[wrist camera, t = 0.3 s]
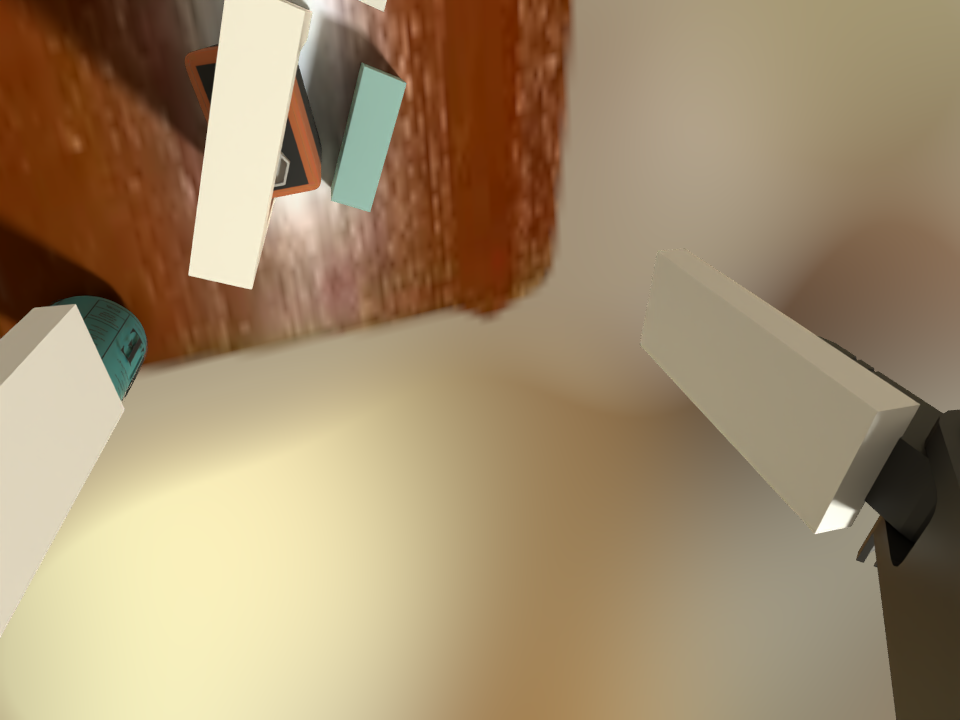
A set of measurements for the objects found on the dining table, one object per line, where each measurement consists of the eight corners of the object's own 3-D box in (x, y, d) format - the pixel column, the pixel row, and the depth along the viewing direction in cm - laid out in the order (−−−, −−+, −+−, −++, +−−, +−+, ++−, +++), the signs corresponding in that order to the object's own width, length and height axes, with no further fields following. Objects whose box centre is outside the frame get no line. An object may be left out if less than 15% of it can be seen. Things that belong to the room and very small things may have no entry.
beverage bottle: (26, 294, 35) (-231, 537, 19) (130, 271, 36) (-31, 486, 20) (82, 372, 39) (-92, 631, 23) (175, 350, 40) (71, 585, 23)
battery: (256, 165, 34) (235, 212, 26) (213, 44, 30) (173, 55, 22) (323, 152, 35) (323, 195, 27) (290, 32, 31) (277, 39, 23)
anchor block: (331, 187, 36) (331, 200, 34) (361, 62, 33) (364, 66, 30) (367, 198, 37) (370, 212, 35) (400, 78, 34) (406, 83, 31)
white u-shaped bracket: (236, 183, 34) (188, 275, 22) (266, -8, 30) (227, -22, 18) (276, 194, 35) (252, 289, 23) (312, 11, 31) (305, 11, 18)
